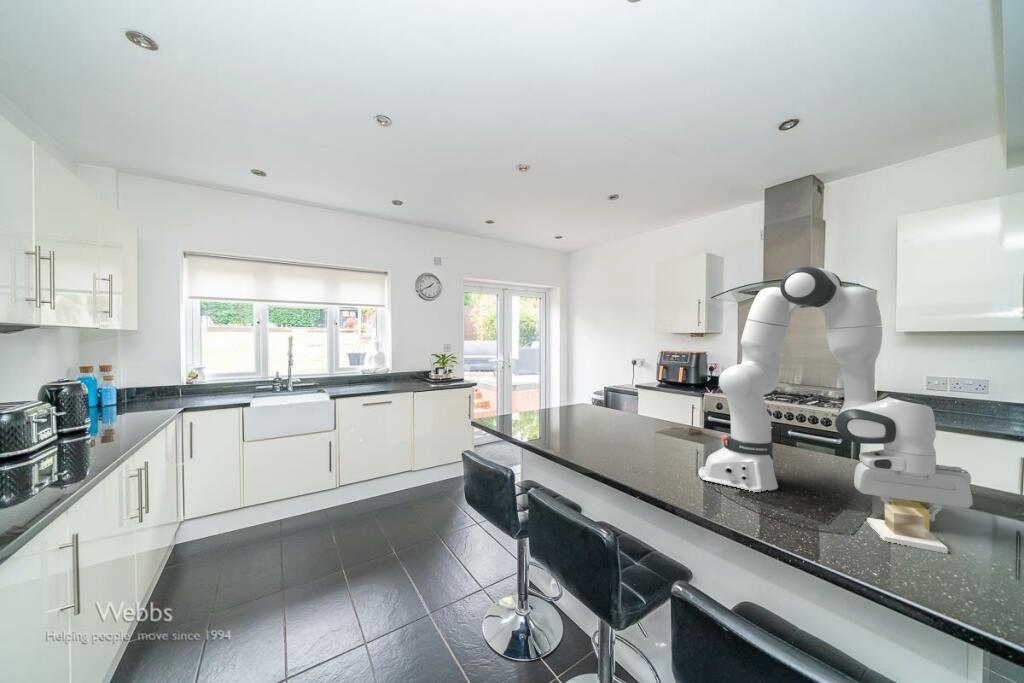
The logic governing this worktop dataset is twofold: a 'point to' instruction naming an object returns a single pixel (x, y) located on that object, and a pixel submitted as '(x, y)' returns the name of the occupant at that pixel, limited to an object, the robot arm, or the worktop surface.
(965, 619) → the worktop surface
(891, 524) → the beech brick
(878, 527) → the plate
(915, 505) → the mustard brick
